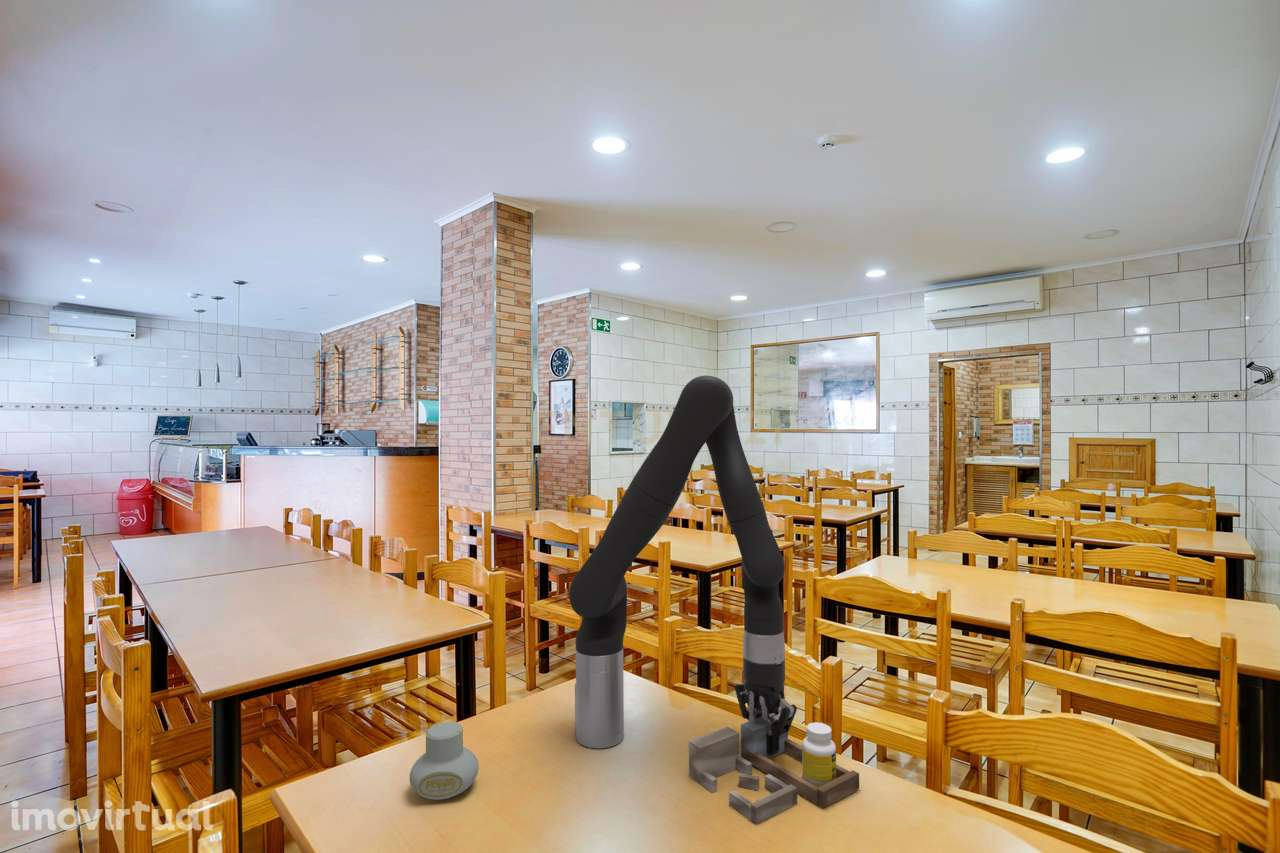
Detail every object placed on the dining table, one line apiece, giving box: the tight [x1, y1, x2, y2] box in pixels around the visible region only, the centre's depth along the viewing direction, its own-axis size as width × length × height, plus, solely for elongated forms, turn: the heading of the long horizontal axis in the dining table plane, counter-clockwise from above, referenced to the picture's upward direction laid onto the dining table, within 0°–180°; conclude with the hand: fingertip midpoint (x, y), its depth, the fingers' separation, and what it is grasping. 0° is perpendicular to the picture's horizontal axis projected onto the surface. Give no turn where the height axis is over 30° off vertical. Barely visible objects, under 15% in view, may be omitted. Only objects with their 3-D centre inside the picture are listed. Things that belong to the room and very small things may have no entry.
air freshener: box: [409, 721, 480, 801], centre depth 102 cm, size 11×8×10 cm
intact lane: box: [740, 713, 860, 809], centre depth 106 cm, size 18×9×6 cm, turn 35°
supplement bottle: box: [801, 722, 837, 788], centre depth 102 cm, size 5×5×10 cm
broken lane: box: [688, 726, 798, 825], centre depth 101 cm, size 16×9×6 cm, turn 34°
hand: (765, 749), depth 112 cm, fingers closed on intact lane, 3 cm apart
